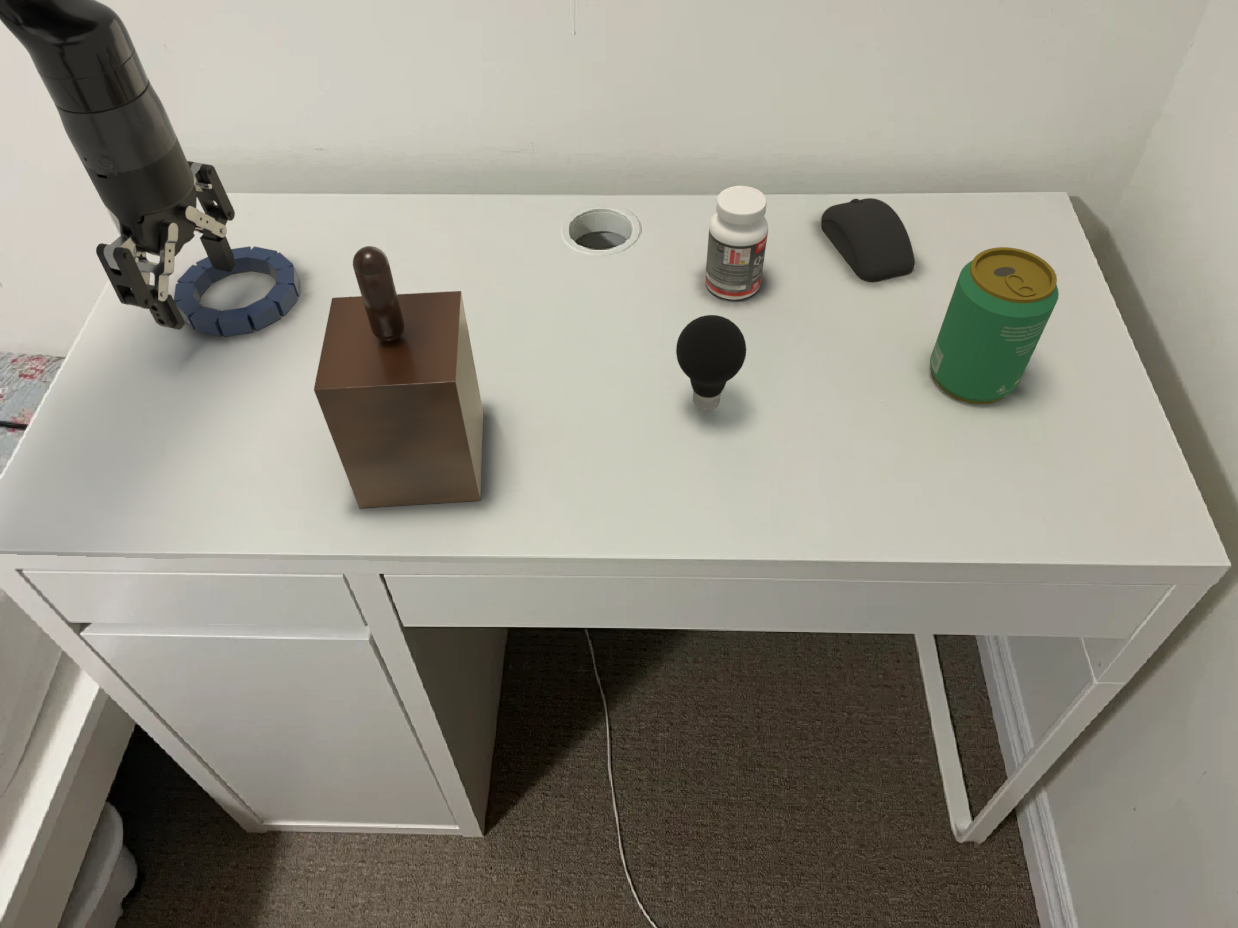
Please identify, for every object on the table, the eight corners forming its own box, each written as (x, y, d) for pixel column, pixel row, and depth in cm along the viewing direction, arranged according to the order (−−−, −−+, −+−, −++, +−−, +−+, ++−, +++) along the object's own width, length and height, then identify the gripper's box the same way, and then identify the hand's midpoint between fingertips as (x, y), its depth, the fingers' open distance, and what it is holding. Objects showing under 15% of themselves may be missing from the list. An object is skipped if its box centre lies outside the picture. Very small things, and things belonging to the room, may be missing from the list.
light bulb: (749, 421, 81) (762, 337, 73) (689, 439, 79) (695, 356, 72) (720, 377, 84) (730, 293, 77) (662, 394, 83) (666, 310, 75)
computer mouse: (867, 210, 101) (874, 178, 98) (918, 271, 94) (928, 239, 91) (815, 221, 99) (821, 189, 96) (863, 284, 93) (871, 252, 90)
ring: (176, 344, 88) (169, 330, 86) (185, 270, 95) (178, 256, 94) (299, 325, 89) (294, 311, 88) (298, 253, 97) (293, 239, 95)
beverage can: (983, 338, 87) (1025, 234, 78) (1034, 394, 83) (1085, 291, 73) (910, 358, 86) (944, 255, 76) (958, 417, 81) (1001, 314, 72)
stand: (359, 508, 75) (279, 302, 58) (371, 418, 81) (303, 209, 64) (480, 500, 75) (437, 293, 58) (483, 412, 82) (445, 202, 65)
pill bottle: (762, 302, 91) (774, 218, 83) (705, 301, 91) (712, 218, 83) (758, 265, 95) (769, 182, 87) (703, 265, 95) (710, 182, 87)
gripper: (140, 92, 79) (208, 245, 91) (28, 184, 70) (120, 338, 83) (216, 104, 77) (274, 258, 90) (111, 200, 69) (191, 355, 81)
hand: (200, 296), depth 86 cm, fingers open, 8 cm apart
